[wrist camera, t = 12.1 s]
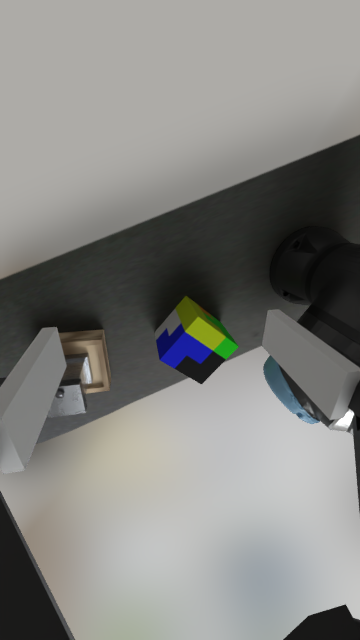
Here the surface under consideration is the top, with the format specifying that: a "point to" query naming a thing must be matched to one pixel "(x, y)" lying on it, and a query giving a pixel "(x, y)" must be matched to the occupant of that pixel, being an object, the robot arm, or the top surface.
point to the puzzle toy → (193, 341)
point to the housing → (72, 386)
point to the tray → (90, 355)
